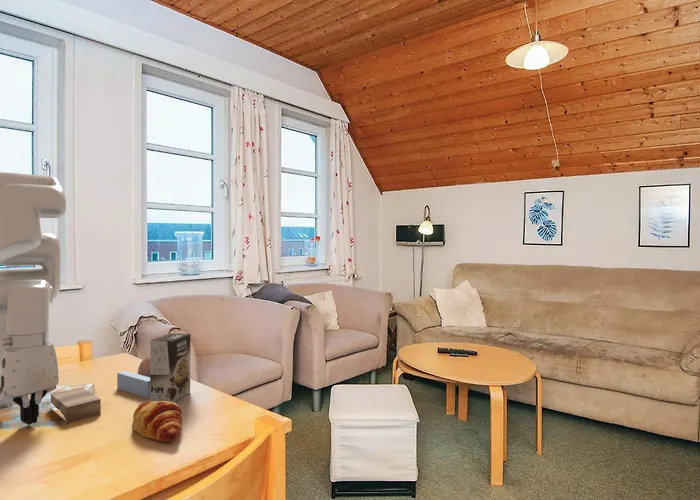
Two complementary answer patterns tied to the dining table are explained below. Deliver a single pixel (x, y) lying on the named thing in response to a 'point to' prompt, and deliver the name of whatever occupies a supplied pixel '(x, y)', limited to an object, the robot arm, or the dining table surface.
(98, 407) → the slab
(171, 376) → the coffee box
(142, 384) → the rail
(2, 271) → the robot arm
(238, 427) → the dining table surface
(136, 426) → the croissant
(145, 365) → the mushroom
